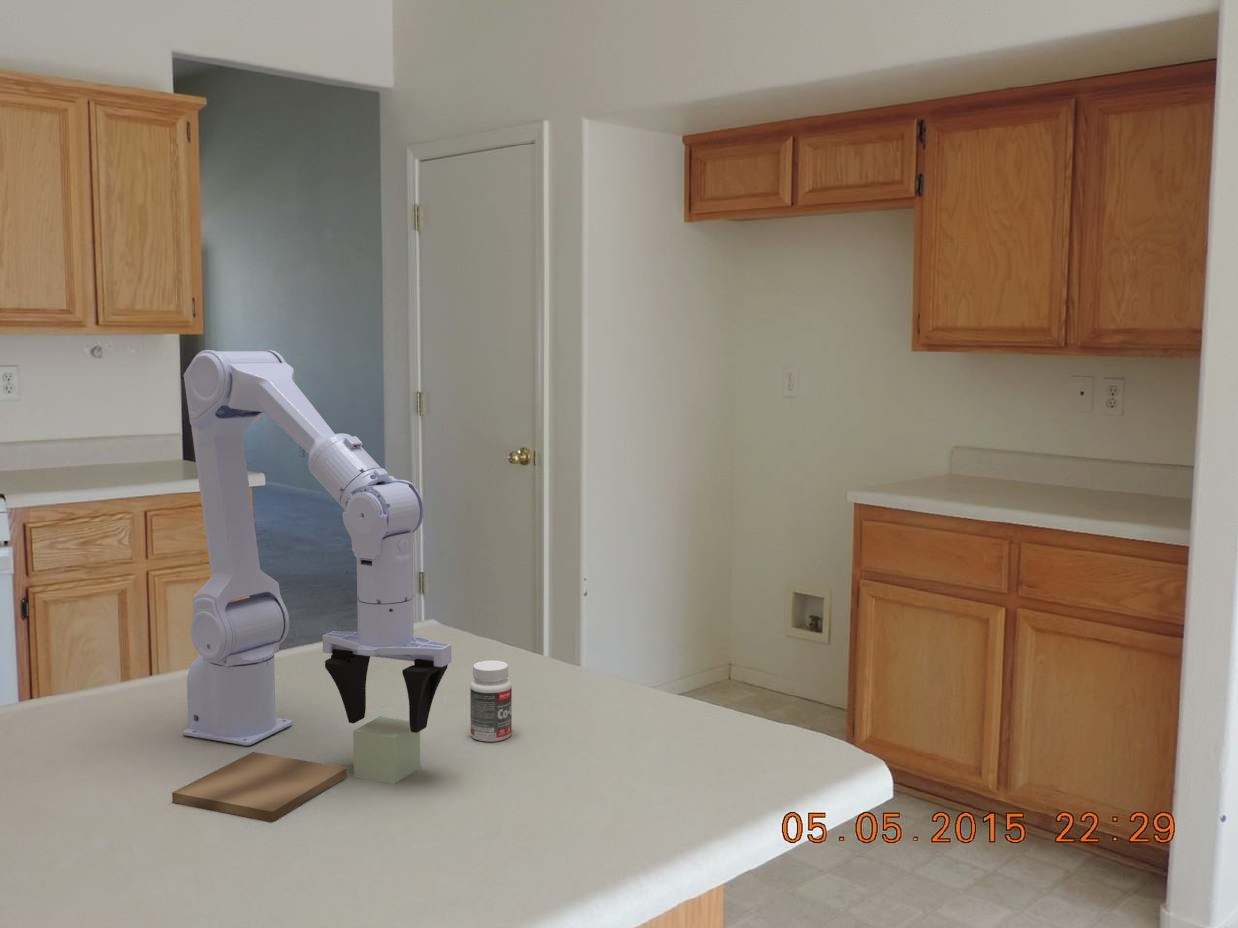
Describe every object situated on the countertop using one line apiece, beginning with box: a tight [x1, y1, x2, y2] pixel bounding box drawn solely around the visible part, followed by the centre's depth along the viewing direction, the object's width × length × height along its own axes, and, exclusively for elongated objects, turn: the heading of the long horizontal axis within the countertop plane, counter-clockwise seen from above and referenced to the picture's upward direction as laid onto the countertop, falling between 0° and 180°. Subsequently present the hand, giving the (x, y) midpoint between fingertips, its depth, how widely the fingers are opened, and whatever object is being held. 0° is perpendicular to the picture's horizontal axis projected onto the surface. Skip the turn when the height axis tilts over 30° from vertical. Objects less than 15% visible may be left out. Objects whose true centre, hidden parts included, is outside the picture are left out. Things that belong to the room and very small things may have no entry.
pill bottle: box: [469, 660, 513, 743], centre depth 131 cm, size 5×5×8 cm
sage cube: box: [352, 716, 421, 784], centre depth 120 cm, size 5×5×5 cm
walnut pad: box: [171, 751, 348, 823], centre depth 115 cm, size 12×12×1 cm
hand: (387, 724), depth 119 cm, fingers open, 7 cm apart
